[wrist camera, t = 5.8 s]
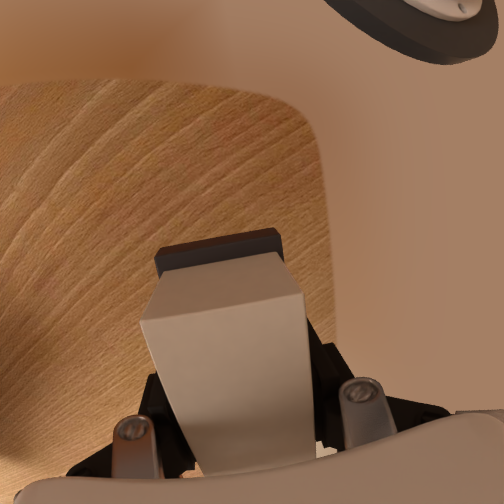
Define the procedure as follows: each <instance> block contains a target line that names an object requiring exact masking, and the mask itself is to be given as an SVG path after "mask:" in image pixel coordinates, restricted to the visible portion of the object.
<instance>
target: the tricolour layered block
mask: <svg viewBox="0 0 504 504" xmlns="http://www.w3.org/2000/svg"><path fill="white" fill-rule="evenodd" d="M154 260H155V264H156V268H157V272H158V276H159V282H158V284H157V286H156V288H155V290H154V292H153V294H152V296H151V298H150V300H149V302H148V304H147V306H146V308H145V310H144V313H143V315H142V317H141V319H140V322H139V323H140V326H141V329H142V332H143V335H144V338H145V340H146V343H147V346H148V349H149V352H150V354H151V357H152V360H153V362H154V365H155V368H156V370H157V373H158V376H159V378H160V381H161V383H162V386H163V388H164V391H165V393H166V395H167V398H168V400H169V403H170V405H171V407H172V410H173V412H174V414H175V416H176V419H177V421H178V423H179V425H180V427H181V430H182V432H183V434H184V436H185V438H186V440H187V442H188V445H189V447H190V449H191V451H192V453H193V455H194V457H195V459H196V461H197V463H198V465H199V467H200V469H201V470H202V472H203V474H204V476H205V477H208V476H219V475H228V474H236V473H244V472H251V471H257V470H263V469H269V468H274V467H280V466H285V465H290V464H294V463H299V462H303V461H308V460H312V459H316V441H315V422H314V404H313V389H312V375H311V362H310V350H309V338H308V327H307V316H306V306H305V296H304V293H303V291H302V290H301V288H300V287H299V285H298V284H297V282H296V280H295V279H294V277H293V276H292V274H291V273H290V271H289V270H288V268H287V267H286V265H285V263H284V256H283V248H282V241H281V235H280V234H279V233H278V232H277V230H276V229H275V228H273V227H272V228H266V229H261V230H255V231H249V232H244V233H238V234H232V235H227V236H221V237H216V238H210V239H205V240H199V241H194V242H189V243H183V244H178V245H173V246H167V247H162V248H160V250H159V251H158V252H157V254H156V255H155V257H154Z"/></svg>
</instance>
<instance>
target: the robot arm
mask: <svg viewBox="0 0 504 504" xmlns="http://www.w3.org/2000/svg"><path fill="white" fill-rule="evenodd" d="M403 1H405V2H406V3H408V4H409V5H411V6H413V7H415V8H417V9H419V10H420V11H422V12H424V13H427V14H429V15H431V16H434V17H436V18H439V19H443V20H447V21H456V22H459V21H463V20H467V19H469V18H471V17H473V16H475V15H476V14H477V13H478V12H479V11H480V9H481V5H482V0H403ZM307 327H308V338H309V350H310V362H311V375H312V389H313V404H314V422H315V440H316V442H318V441H322V444H323V446H324V448H327V447H332V448H335V449H337V453H335V454H331V455H328V456H324V457H320V458H316V459H312V460H308V461H303V462H299V463H294V464H290V465H285V466H280V467H274V468H269V469H263V470H257V471H251V472H244V473H236V474H228V475H219V476H208V477H196V478H183V476H182V473H184V472H185V471H186V470H195V462H197V461H196V459H195V457H194V455H193V453H192V451H191V449H190V447H189V445H188V442H187V440H186V438H185V436H184V434H183V432H182V430H181V427H180V425H179V423H178V421H177V419H176V416H175V414H174V412H173V410H172V407H171V405H170V403H169V400H168V398H167V395H166V393H165V391H164V388H163V386H162V383H161V381H160V378H159V376H158V373H157V370H156V373H155V374H150V375H149V376H148V379H147V383H146V386H145V390H144V393H143V397H142V401H141V404H140V408H139V412H138V415H131V416H127V417H125V418H124V419H122V420H121V421H119V422H118V423H117V425H116V426H115V428H114V431H113V442H112V443H111V444H109V445H108V446H106V447H105V448H103V449H101V450H100V451H98V452H96V453H95V454H93V455H91V456H90V457H88V458H87V459H85V460H83V461H81V462H80V463H78V464H76V465H75V466H73V467H72V468H71V469H70V470H69V471H68V472H67V474H66V477H61V476H60V477H53V478H47V479H42V480H38V481H35V482H33V483H30V484H29V485H27V486H26V487H25V488H24V489H22V490H20V491H19V492H18V493H17V494H16V495H15V497H14V503H13V504H504V410H502V409H499V410H478V411H456V413H455V414H450V413H449V412H448V411H447V410H446V409H444V408H442V407H439V406H435V405H430V404H424V403H418V402H414V401H409V400H404V399H399V398H394V397H390V396H385V394H384V391H383V388H382V386H381V385H380V383H379V382H377V381H376V380H374V379H372V378H367V377H356V378H355V377H354V375H353V374H352V372H351V370H350V369H349V367H348V365H347V364H346V362H345V361H344V359H343V358H342V356H341V354H340V353H339V351H338V349H337V348H336V346H335V345H334V343H332V342H331V343H327V344H323V345H322V343H321V341H320V339H319V338H318V336H317V334H316V332H315V330H314V329H313V327H312V325H311V323H310V322H309V320H308V318H307Z"/></svg>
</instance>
